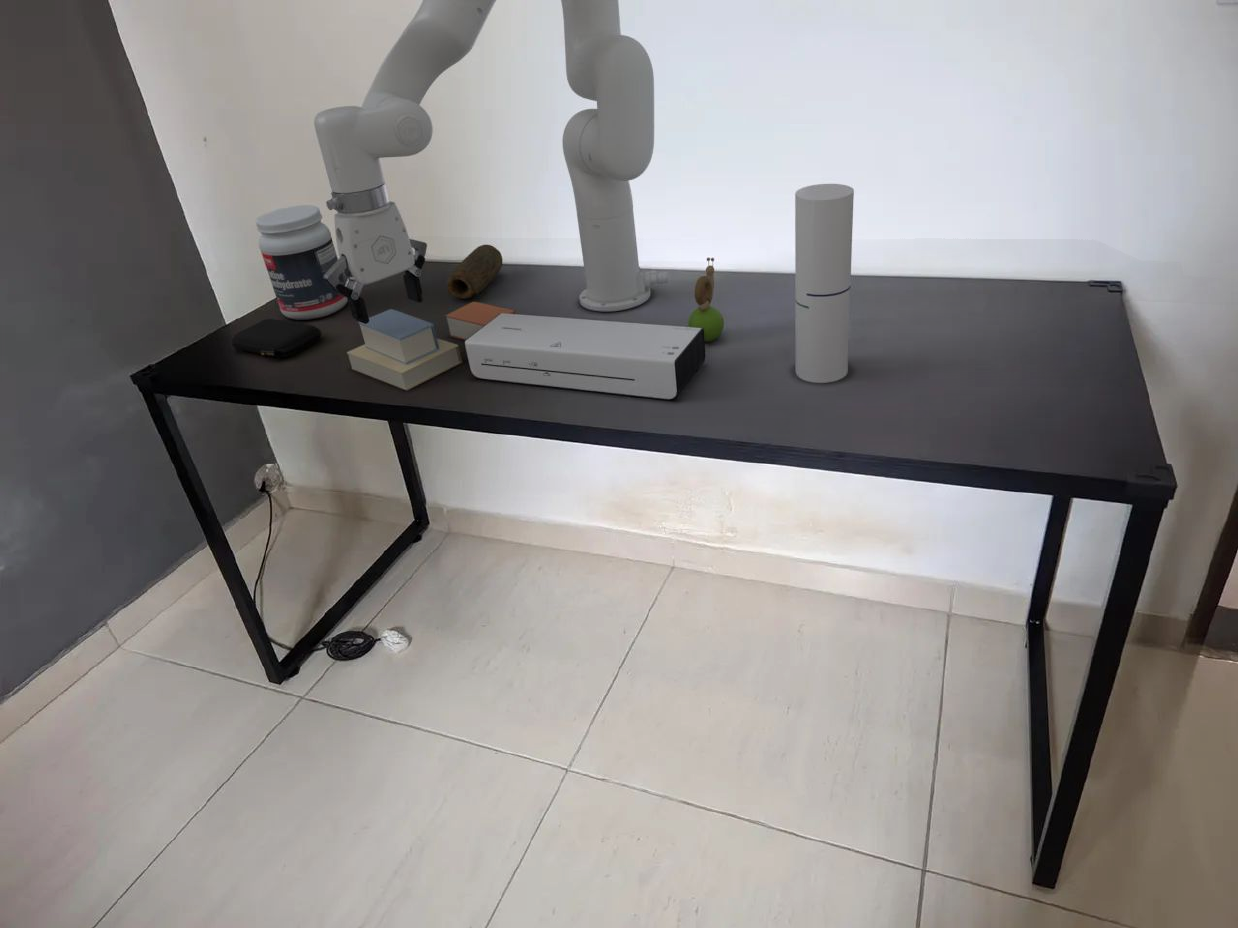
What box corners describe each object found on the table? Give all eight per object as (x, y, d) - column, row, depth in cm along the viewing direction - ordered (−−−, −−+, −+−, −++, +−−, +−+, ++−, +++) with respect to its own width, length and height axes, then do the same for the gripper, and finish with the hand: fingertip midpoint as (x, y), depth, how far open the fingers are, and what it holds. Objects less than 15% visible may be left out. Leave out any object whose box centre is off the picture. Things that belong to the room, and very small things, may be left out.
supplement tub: (270, 324, 162) (236, 227, 152) (302, 298, 173) (273, 206, 163) (332, 322, 160) (302, 223, 150) (362, 295, 170) (335, 201, 160)
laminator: (471, 378, 132) (463, 341, 129) (511, 345, 142) (504, 309, 138) (679, 402, 119) (675, 361, 115) (709, 363, 128) (706, 324, 125)
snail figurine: (731, 331, 136) (728, 257, 130) (717, 348, 132) (713, 273, 125) (698, 329, 139) (694, 256, 132) (684, 345, 134) (678, 271, 128)
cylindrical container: (837, 386, 118) (842, 201, 104) (787, 378, 121) (786, 198, 108) (854, 364, 122) (861, 185, 109) (806, 356, 126) (807, 182, 113)
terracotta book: (518, 331, 146) (514, 310, 144) (490, 346, 142) (486, 325, 140) (478, 321, 152) (473, 301, 150) (450, 336, 148) (445, 315, 146)
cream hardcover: (462, 362, 138) (458, 345, 136) (406, 390, 131) (402, 372, 130) (406, 343, 147) (402, 327, 145) (351, 369, 140) (346, 352, 139)
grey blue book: (439, 350, 136) (433, 323, 133) (406, 365, 132) (399, 338, 130) (397, 333, 143) (391, 308, 141) (365, 347, 140) (358, 322, 137)
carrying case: (224, 354, 152) (282, 365, 145) (218, 338, 150) (276, 348, 143) (271, 330, 159) (328, 339, 153) (266, 314, 158) (323, 323, 151)
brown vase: (474, 275, 173) (467, 242, 170) (507, 273, 171) (501, 240, 168) (447, 304, 161) (439, 269, 157) (482, 303, 159) (475, 268, 156)
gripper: (320, 219, 118) (353, 335, 127) (425, 187, 128) (449, 297, 137) (294, 212, 123) (327, 325, 131) (398, 182, 132) (422, 288, 141)
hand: (389, 310), depth 134 cm, fingers open, 9 cm apart
